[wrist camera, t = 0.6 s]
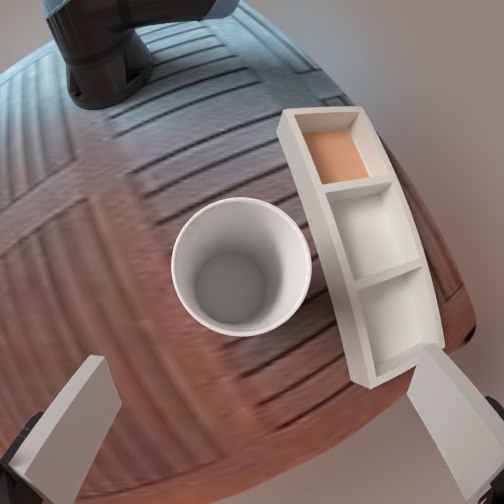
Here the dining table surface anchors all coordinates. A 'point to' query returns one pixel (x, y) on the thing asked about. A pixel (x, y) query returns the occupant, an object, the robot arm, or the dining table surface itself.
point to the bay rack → (362, 240)
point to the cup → (241, 266)
